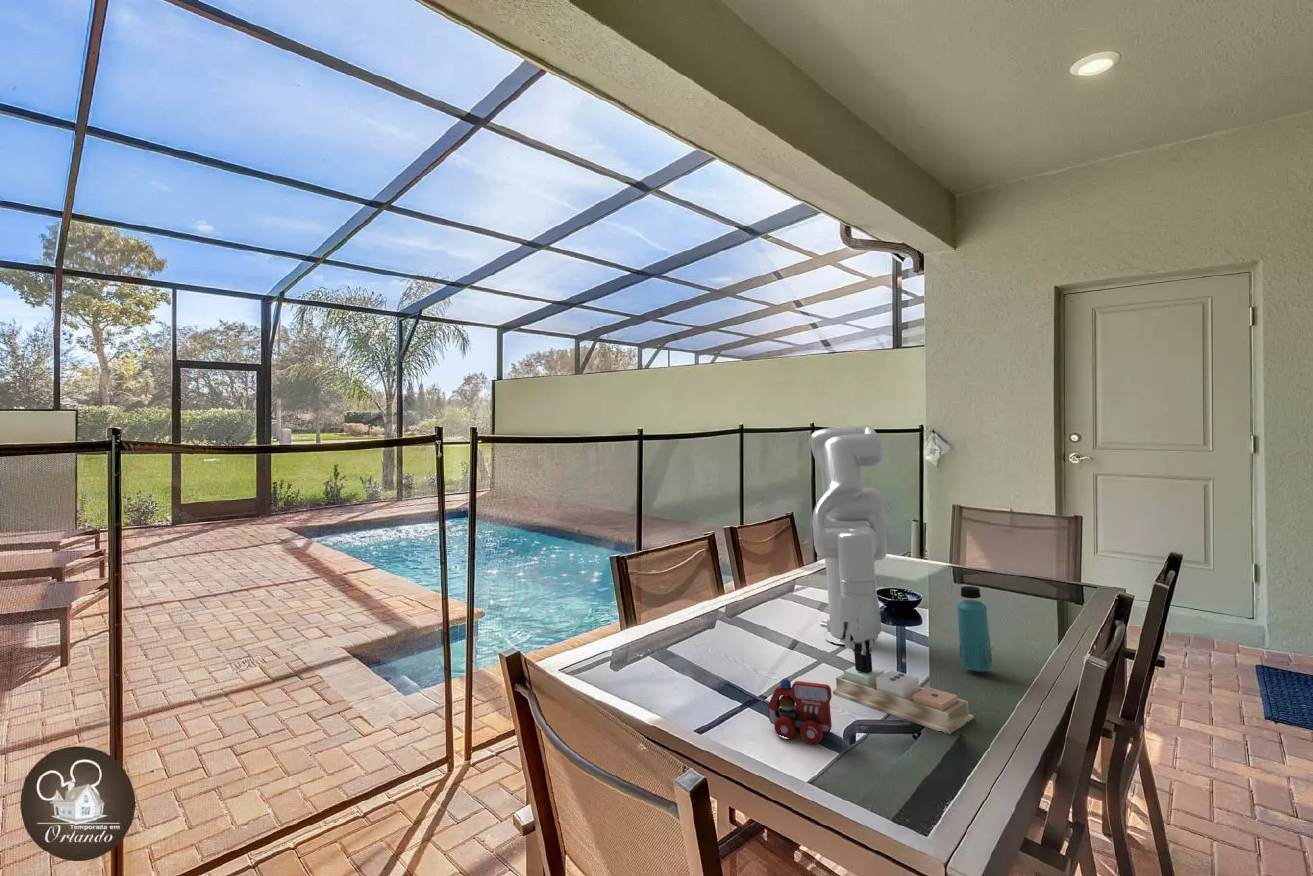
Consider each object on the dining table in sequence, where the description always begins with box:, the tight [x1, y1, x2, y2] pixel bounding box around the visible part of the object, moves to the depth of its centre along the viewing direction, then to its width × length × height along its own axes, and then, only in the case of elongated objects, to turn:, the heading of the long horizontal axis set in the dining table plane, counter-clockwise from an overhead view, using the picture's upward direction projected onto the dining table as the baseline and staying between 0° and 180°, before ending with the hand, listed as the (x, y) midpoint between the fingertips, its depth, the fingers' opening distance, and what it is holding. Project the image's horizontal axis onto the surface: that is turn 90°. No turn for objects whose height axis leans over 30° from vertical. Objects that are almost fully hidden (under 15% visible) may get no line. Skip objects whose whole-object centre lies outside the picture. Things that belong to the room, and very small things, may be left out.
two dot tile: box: [843, 665, 885, 687], centre depth 129 cm, size 6×6×4 cm
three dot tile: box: [876, 669, 920, 699], centre depth 122 cm, size 6×6×4 cm
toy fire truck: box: [767, 678, 833, 746], centre depth 113 cm, size 7×12×10 cm, turn 60°
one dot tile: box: [912, 686, 959, 712], centre depth 116 cm, size 6×6×4 cm
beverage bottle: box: [956, 585, 993, 672], centre depth 137 cm, size 6×7×20 cm
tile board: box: [832, 674, 975, 733], centre depth 122 cm, size 26×10×3 cm, turn 37°
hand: (863, 670), depth 128 cm, fingers closed
